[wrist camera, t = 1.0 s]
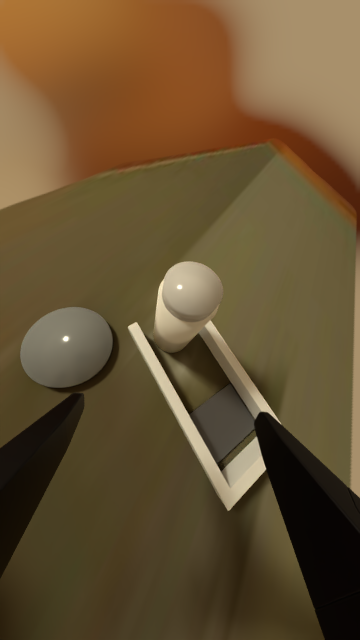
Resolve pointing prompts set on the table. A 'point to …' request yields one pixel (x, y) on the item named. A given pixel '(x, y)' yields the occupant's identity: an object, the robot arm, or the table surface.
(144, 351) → the channel
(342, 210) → the table surface
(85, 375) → the coaster
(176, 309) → the salt mill
